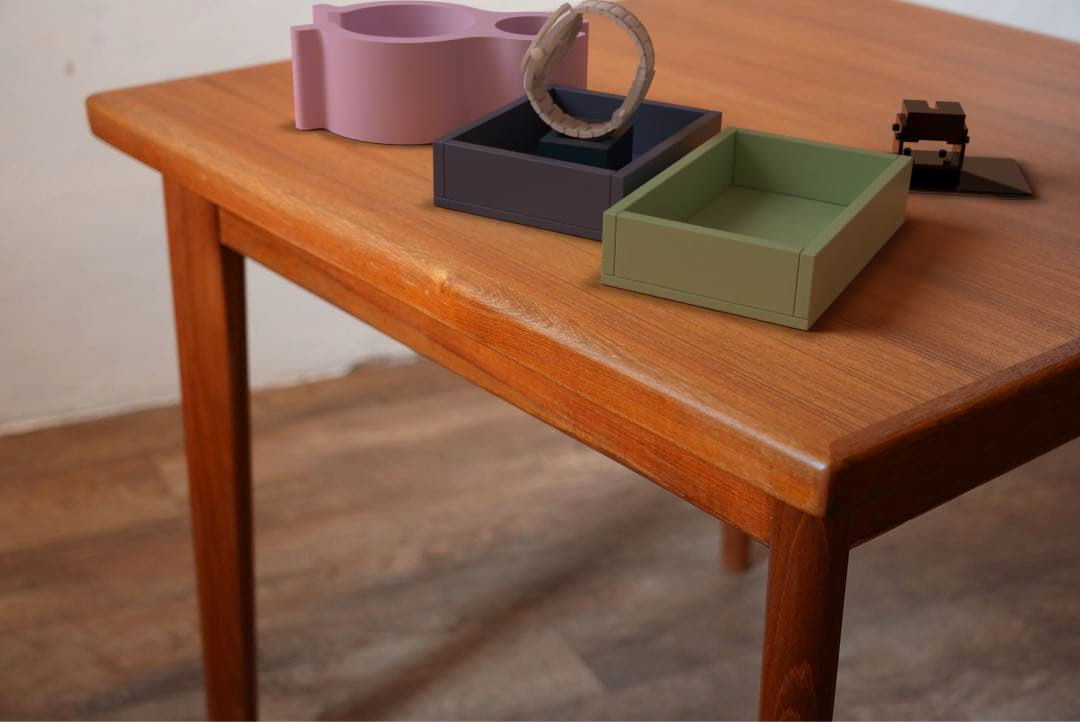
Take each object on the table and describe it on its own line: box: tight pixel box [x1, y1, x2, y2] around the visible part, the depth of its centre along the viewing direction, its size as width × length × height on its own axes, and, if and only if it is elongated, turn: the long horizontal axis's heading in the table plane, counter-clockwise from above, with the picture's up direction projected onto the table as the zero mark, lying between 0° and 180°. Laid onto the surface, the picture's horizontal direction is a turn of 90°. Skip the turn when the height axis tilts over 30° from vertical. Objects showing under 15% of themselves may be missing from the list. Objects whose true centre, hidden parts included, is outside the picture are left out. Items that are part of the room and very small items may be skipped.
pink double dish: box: [289, 0, 590, 145], centre depth 102 cm, size 20×12×7 cm, turn 85°
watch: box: [520, 0, 656, 172], centre depth 88 cm, size 6×8×11 cm
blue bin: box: [432, 83, 723, 242], centre depth 90 cm, size 13×15×4 cm
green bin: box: [600, 125, 913, 331], centre depth 81 cm, size 12×18×4 cm, turn 151°
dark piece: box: [879, 99, 1033, 200], centre depth 93 cm, size 12×7×5 cm, turn 83°
